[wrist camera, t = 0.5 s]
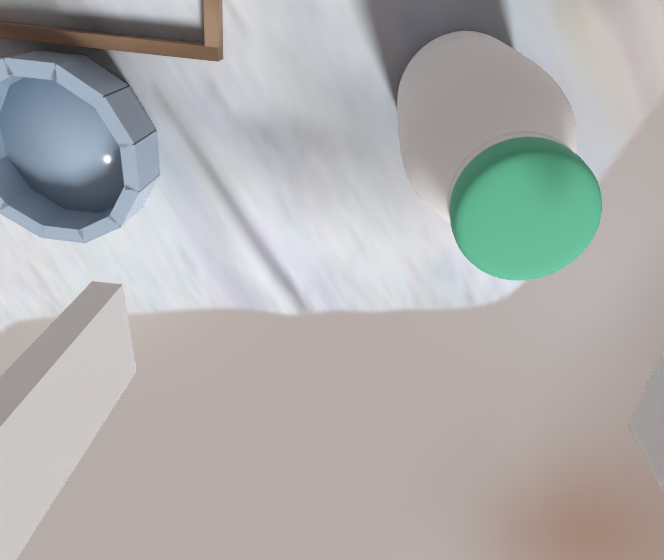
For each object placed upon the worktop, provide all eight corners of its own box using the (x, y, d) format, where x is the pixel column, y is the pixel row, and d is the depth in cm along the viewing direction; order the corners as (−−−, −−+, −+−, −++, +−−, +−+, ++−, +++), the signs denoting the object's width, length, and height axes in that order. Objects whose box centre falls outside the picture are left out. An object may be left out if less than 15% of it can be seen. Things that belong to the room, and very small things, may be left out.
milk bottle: (372, 107, 35) (355, 239, 17) (454, 0, 31) (533, 31, 14) (460, 177, 36) (524, 359, 19) (547, 83, 33) (720, 202, 16)
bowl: (-27, 43, 35) (-68, 49, 32) (150, 62, 35) (127, 71, 31) (12, 211, 41) (-19, 230, 38) (164, 229, 41) (145, 250, 37)
